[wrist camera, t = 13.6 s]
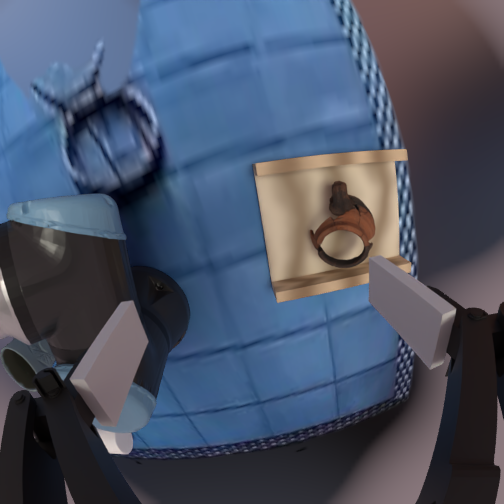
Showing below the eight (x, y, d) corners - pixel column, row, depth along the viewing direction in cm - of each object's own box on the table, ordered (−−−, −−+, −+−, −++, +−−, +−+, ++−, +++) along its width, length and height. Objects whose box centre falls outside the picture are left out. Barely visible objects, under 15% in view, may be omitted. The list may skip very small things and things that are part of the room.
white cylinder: (135, 436, 54) (129, 460, 46) (105, 435, 54) (98, 457, 46) (111, 405, 50) (101, 430, 43) (80, 406, 50) (69, 428, 43)
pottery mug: (376, 232, 41) (381, 268, 36) (321, 242, 46) (316, 277, 40) (362, 163, 35) (367, 191, 29) (298, 177, 39) (290, 206, 33)
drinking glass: (33, 348, 45) (7, 379, 33) (26, 310, 42) (-6, 340, 30) (68, 363, 46) (45, 399, 35) (62, 324, 43) (32, 360, 32)
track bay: (272, 288, 44) (277, 302, 39) (252, 164, 38) (255, 163, 33) (395, 261, 44) (410, 271, 39) (389, 149, 38) (406, 149, 34)
